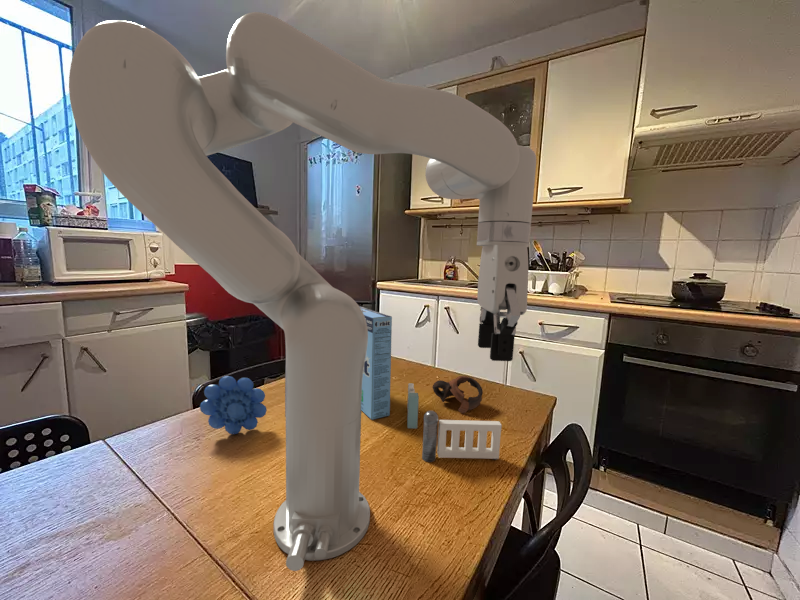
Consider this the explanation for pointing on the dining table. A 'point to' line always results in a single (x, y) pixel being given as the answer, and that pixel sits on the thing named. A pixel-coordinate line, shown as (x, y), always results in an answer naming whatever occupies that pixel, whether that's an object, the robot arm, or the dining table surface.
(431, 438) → the hinge post
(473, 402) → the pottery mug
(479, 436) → the gate
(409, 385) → the fence panel
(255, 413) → the blue flower
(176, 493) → the dining table surface
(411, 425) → the block
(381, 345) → the gum box
